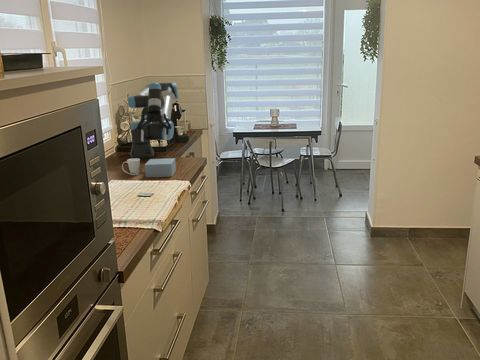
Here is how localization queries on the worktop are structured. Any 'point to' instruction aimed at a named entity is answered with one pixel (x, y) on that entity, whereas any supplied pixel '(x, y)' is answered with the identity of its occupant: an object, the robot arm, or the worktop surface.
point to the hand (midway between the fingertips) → (153, 140)
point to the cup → (133, 166)
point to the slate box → (160, 167)
